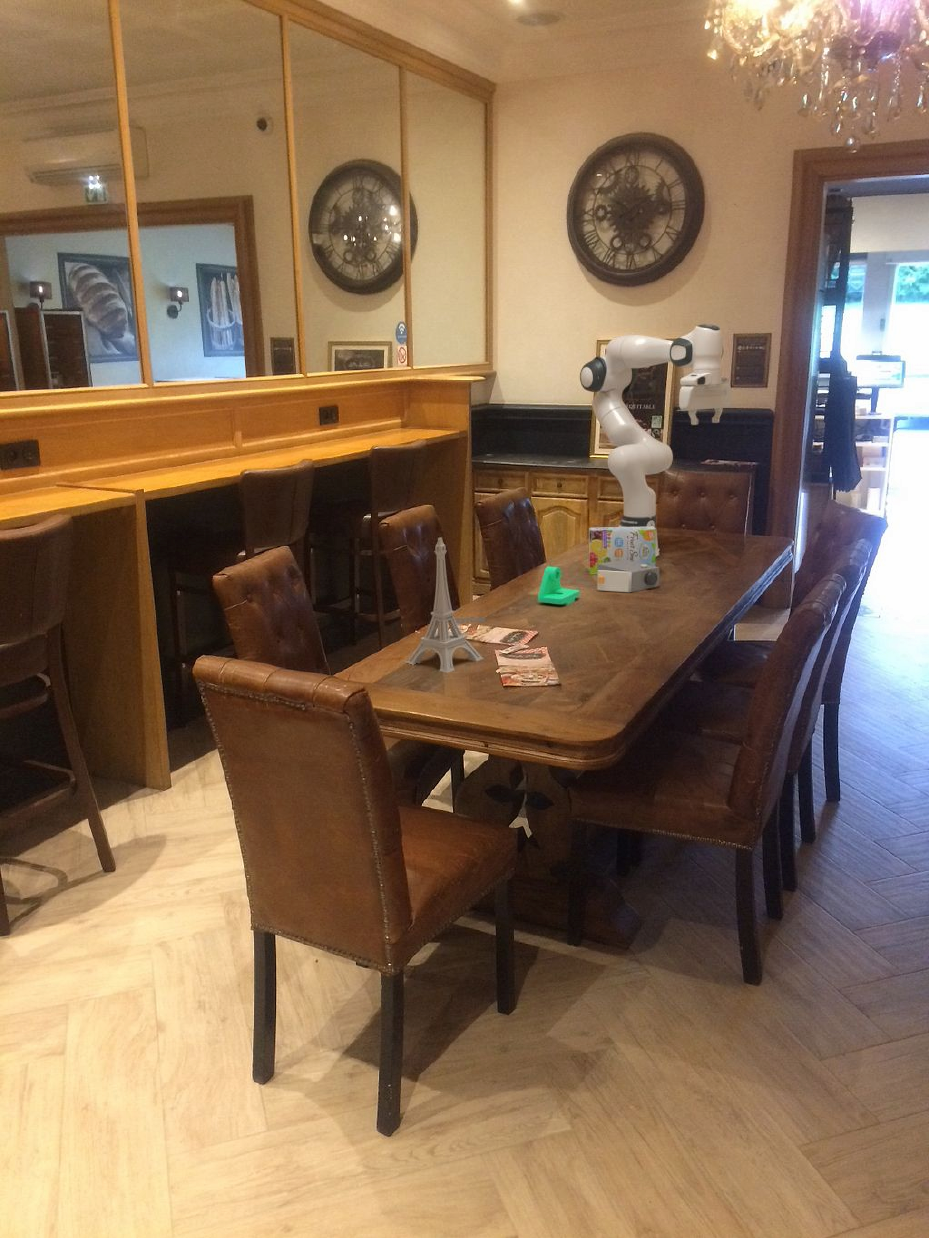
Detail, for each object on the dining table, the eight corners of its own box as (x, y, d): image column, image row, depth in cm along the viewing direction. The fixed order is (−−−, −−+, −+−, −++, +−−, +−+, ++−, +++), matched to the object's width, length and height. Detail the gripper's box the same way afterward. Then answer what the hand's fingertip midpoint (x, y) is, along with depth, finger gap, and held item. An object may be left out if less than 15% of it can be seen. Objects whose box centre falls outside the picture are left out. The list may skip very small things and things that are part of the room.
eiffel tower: (441, 650, 246) (437, 531, 238) (483, 659, 237) (480, 536, 230) (405, 663, 236) (399, 540, 228) (447, 673, 228) (443, 545, 220)
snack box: (653, 571, 325) (654, 525, 321) (655, 575, 319) (656, 528, 315) (588, 571, 327) (588, 526, 323) (589, 575, 321) (589, 529, 317)
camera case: (597, 582, 311) (597, 561, 309) (623, 577, 316) (624, 556, 315) (635, 592, 297) (635, 570, 295) (662, 587, 302) (662, 565, 300)
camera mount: (561, 608, 282) (561, 573, 280) (538, 605, 286) (537, 570, 284) (580, 599, 292) (580, 565, 289) (557, 596, 296) (557, 562, 293)
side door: (596, 590, 299) (596, 571, 298) (598, 589, 301) (598, 570, 300) (630, 592, 296) (630, 573, 294) (631, 591, 297) (632, 571, 296)
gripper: (722, 377, 316) (720, 421, 320) (676, 379, 306) (675, 425, 309) (737, 377, 311) (735, 422, 315) (691, 380, 301) (689, 426, 304)
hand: (705, 423), depth 312 cm, fingers open, 8 cm apart
